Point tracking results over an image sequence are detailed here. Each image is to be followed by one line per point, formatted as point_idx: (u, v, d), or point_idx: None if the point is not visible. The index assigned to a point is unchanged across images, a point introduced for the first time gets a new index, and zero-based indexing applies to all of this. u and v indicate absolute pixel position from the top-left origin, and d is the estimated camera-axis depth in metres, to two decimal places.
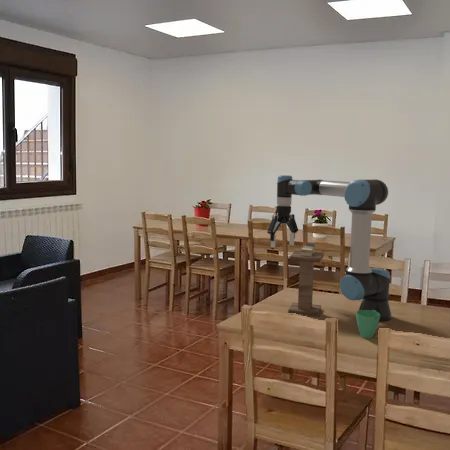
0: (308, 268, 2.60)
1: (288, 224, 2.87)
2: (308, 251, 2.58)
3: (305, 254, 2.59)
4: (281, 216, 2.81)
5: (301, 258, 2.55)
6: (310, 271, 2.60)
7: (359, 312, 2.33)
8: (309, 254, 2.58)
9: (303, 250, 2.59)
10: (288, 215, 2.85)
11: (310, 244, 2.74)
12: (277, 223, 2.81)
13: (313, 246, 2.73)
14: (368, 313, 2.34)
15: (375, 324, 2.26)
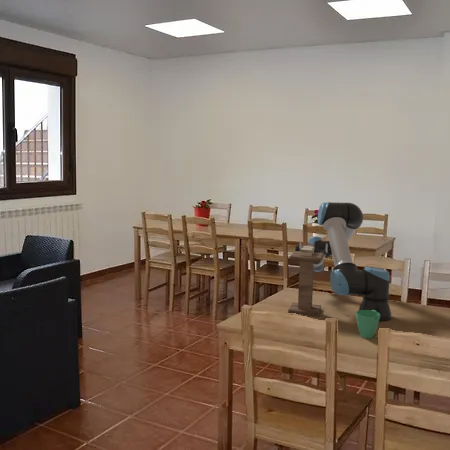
0: (308, 268, 2.60)
1: (321, 252, 2.95)
2: (308, 251, 2.58)
3: (305, 254, 2.59)
4: None
5: (301, 258, 2.55)
6: (310, 271, 2.60)
7: (359, 312, 2.33)
8: (309, 254, 2.58)
9: (303, 250, 2.59)
10: None
11: (310, 244, 2.74)
12: None
13: (313, 246, 2.73)
14: (368, 313, 2.34)
15: (375, 324, 2.26)
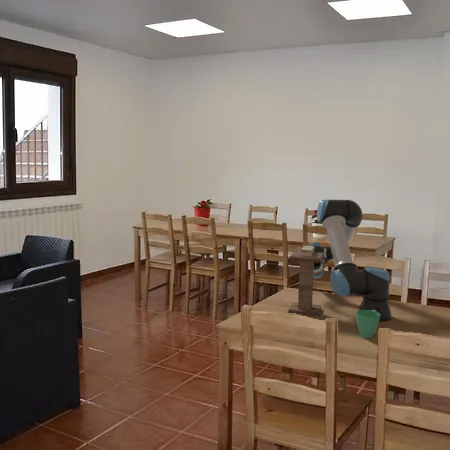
0: (308, 268, 2.60)
1: None
2: (308, 251, 2.58)
3: (305, 254, 2.59)
4: None
5: (301, 258, 2.55)
6: (310, 271, 2.60)
7: (359, 312, 2.33)
8: (309, 254, 2.58)
9: (303, 250, 2.59)
10: None
11: (310, 244, 2.74)
12: None
13: (313, 246, 2.73)
14: (368, 313, 2.34)
15: (375, 324, 2.26)
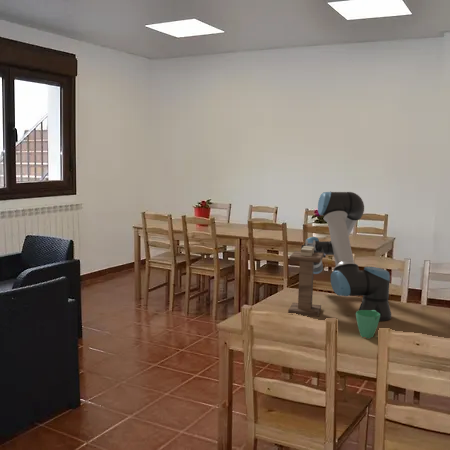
0: (308, 268, 2.60)
1: (315, 251, 2.83)
2: (308, 251, 2.58)
3: (305, 254, 2.59)
4: None
5: (301, 258, 2.55)
6: (310, 271, 2.60)
7: (359, 312, 2.33)
8: (309, 254, 2.58)
9: (303, 250, 2.59)
10: None
11: (310, 244, 2.74)
12: None
13: None
14: (368, 313, 2.34)
15: (375, 324, 2.26)
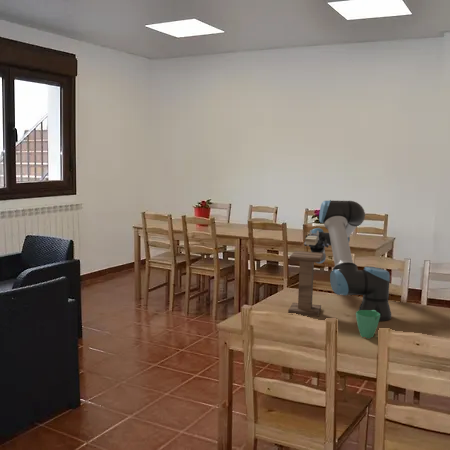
0: (308, 268, 2.60)
1: (318, 241, 2.96)
2: (312, 240, 2.72)
3: (309, 243, 2.72)
4: None
5: (301, 258, 2.55)
6: (310, 271, 2.60)
7: (359, 312, 2.33)
8: (313, 243, 2.72)
9: (308, 239, 2.72)
10: None
11: (314, 234, 2.88)
12: None
13: None
14: (368, 313, 2.34)
15: (375, 324, 2.26)
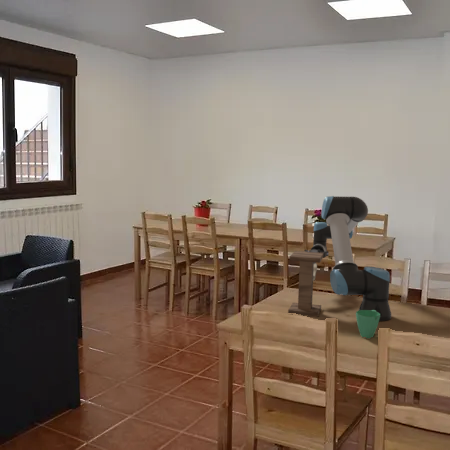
0: (308, 268, 2.60)
1: None
2: None
3: None
4: (311, 250, 3.04)
5: (301, 258, 2.55)
6: (310, 271, 2.60)
7: (359, 312, 2.33)
8: None
9: None
10: (322, 250, 3.03)
11: None
12: None
13: None
14: (368, 313, 2.34)
15: (375, 324, 2.26)
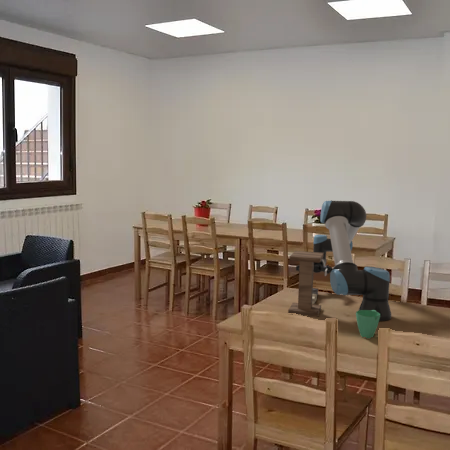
0: (308, 268, 2.60)
1: (321, 268, 2.99)
2: None
3: None
4: None
5: (301, 258, 2.55)
6: (310, 271, 2.60)
7: (359, 312, 2.33)
8: (312, 302, 2.80)
9: None
10: (320, 265, 3.04)
11: (313, 290, 2.95)
12: None
13: (316, 292, 2.95)
14: (368, 313, 2.34)
15: (375, 324, 2.26)
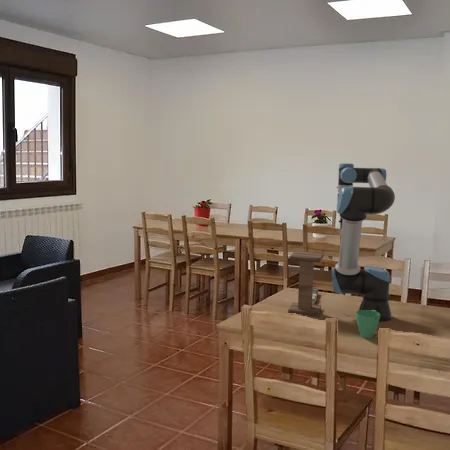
0: (308, 268, 2.60)
1: None
2: None
3: None
4: None
5: (301, 258, 2.55)
6: (310, 271, 2.60)
7: (359, 312, 2.33)
8: (312, 302, 2.80)
9: None
10: None
11: (313, 290, 2.95)
12: None
13: (316, 292, 2.95)
14: (368, 313, 2.34)
15: (375, 324, 2.26)
